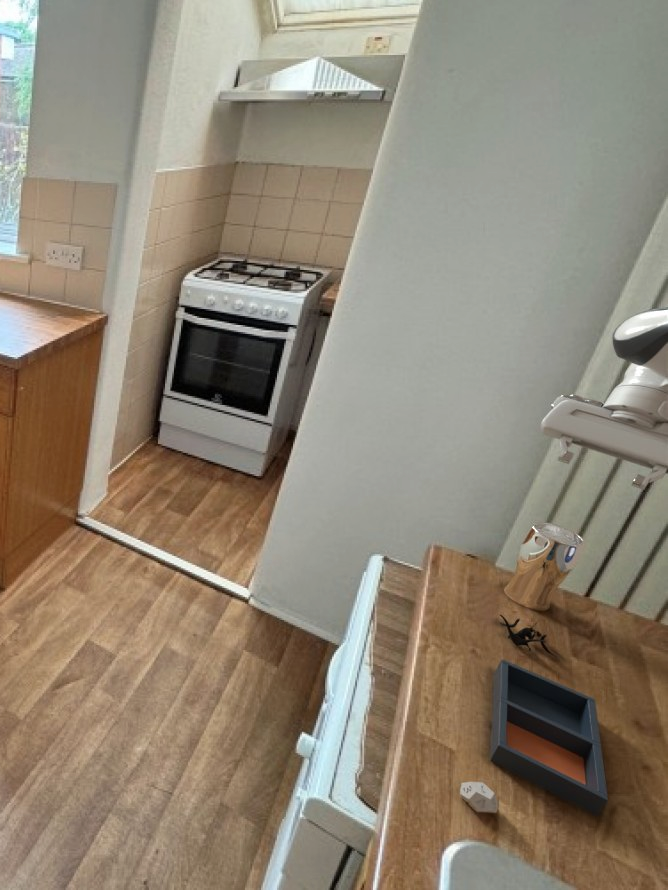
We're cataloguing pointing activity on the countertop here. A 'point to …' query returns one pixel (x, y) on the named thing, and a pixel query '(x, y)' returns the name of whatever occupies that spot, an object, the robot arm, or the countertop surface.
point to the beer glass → (543, 564)
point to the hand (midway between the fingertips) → (599, 473)
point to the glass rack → (548, 736)
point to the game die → (479, 797)
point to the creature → (525, 635)
